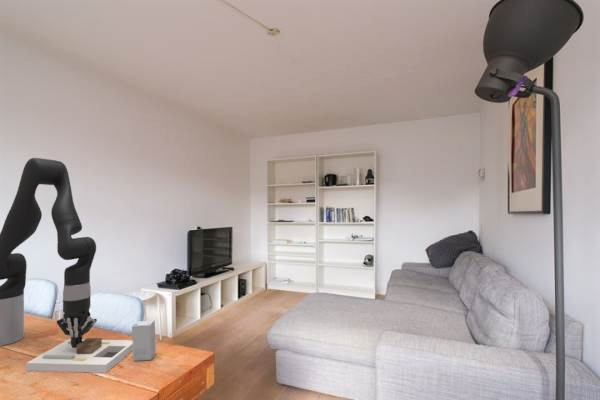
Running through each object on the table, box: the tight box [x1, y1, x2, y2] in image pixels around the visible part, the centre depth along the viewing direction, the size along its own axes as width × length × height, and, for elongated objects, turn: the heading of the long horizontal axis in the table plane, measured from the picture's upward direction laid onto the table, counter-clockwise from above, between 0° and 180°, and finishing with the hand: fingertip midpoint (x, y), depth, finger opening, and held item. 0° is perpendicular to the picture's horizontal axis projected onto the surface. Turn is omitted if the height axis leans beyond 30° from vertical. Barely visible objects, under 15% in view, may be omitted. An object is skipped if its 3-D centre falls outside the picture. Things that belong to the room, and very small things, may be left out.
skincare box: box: [131, 320, 157, 362], centre depth 101 cm, size 6×4×12 cm
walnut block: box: [77, 337, 103, 354], centre depth 101 cm, size 5×5×3 cm
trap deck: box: [25, 338, 133, 374], centre depth 101 cm, size 26×16×3 cm, turn 87°
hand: (76, 346), depth 101 cm, fingers closed
